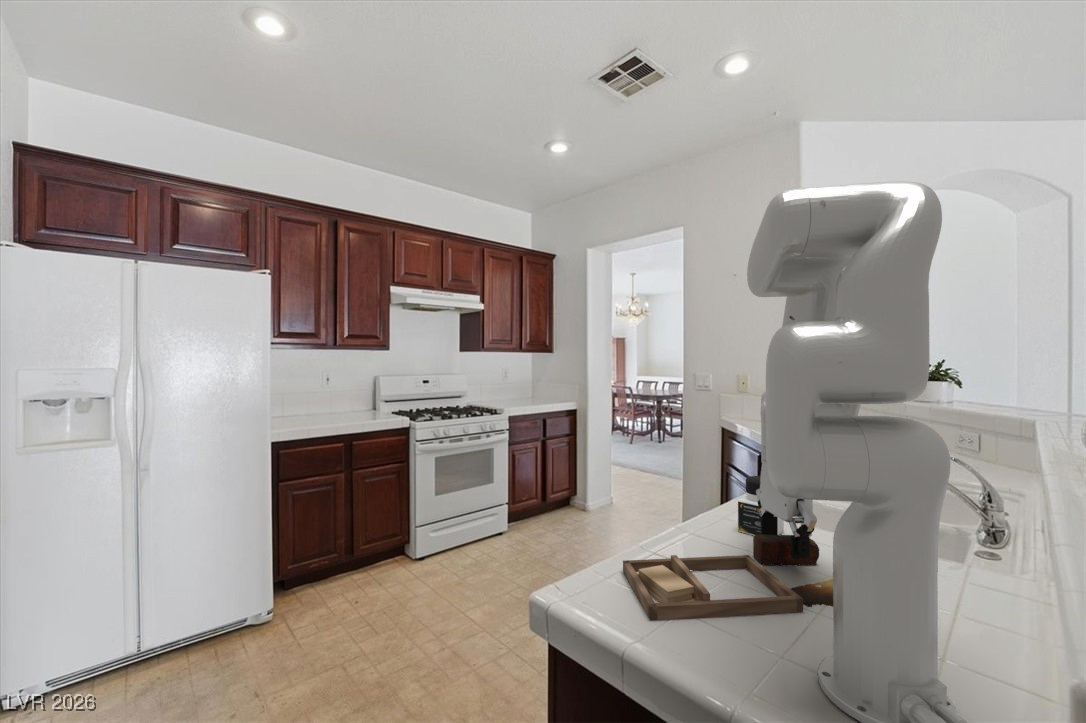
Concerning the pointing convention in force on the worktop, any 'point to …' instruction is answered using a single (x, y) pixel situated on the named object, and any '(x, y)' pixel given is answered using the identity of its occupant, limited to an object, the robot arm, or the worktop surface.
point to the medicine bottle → (752, 510)
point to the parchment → (816, 592)
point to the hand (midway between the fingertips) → (783, 546)
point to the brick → (780, 551)
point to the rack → (703, 604)
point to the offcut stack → (665, 585)
